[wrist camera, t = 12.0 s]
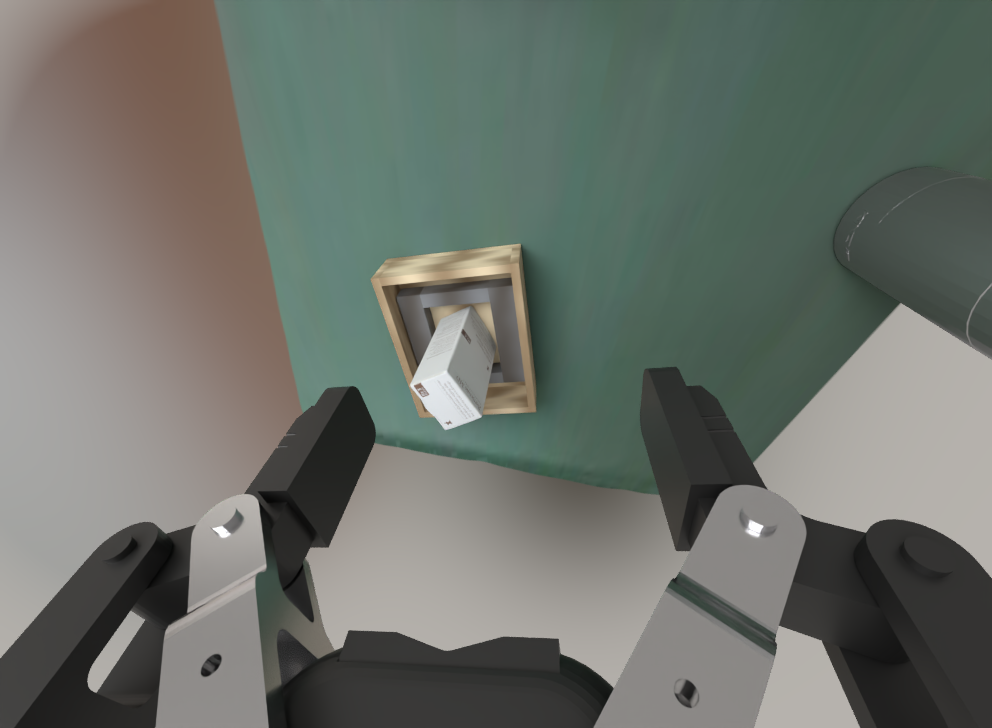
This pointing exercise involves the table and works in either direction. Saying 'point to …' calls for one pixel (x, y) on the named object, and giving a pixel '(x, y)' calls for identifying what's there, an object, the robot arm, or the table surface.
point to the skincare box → (456, 369)
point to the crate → (450, 288)
